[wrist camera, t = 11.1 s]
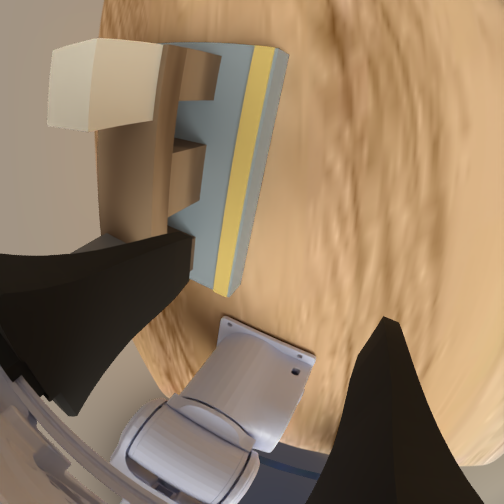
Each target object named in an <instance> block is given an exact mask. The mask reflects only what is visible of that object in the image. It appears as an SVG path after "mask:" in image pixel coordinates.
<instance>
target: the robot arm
mask: <svg viewBox="0 0 504 504" xmlns="http://www.w3.org/2000/svg"><path fill="white" fill-rule="evenodd" d="M192 238H193V237H191V236H189V235H187V234H184V233H182V232H180V231H179V232H172V233H167V234H163V235H159V236H154V237H150V238H146V239H142V240H138V241H134V242H130V243H126V244H122V245H117V246H113V247H108V248H104V249H99V250H94V251H88V252H81V253H73V254H62V255H49V256H22V255H9V254H0V504H107V503H106V502H105V501H103V500H102V499H101V498H99V497H98V496H97V495H95V494H94V493H93V492H91V491H90V490H89V489H87V488H86V487H85V486H84V485H83V484H82V483H80V482H79V481H78V480H77V479H75V478H74V477H73V476H72V475H71V474H70V473H69V472H68V471H66V469H68V467H69V466H70V465H71V462H70V461H69V460H68V459H67V458H66V457H65V456H64V455H63V454H62V453H61V452H60V450H59V449H58V448H57V447H55V446H54V444H52V443H51V442H50V441H49V440H48V439H47V438H46V437H45V436H44V435H43V434H42V433H41V432H40V431H39V430H38V429H37V427H36V424H37V421H38V422H39V423H40V424H41V425H42V426H43V428H44V429H45V430H46V431H47V432H48V433H49V434H50V435H51V436H52V437H53V438H54V439H55V440H56V441H57V442H58V444H59V445H60V446H61V447H62V448H63V449H65V450H66V451H67V452H68V453H69V454H70V455H71V456H72V457H73V458H74V459H75V460H76V461H77V462H78V463H80V464H81V465H82V466H83V467H84V468H85V469H86V470H87V471H89V472H90V473H91V474H92V475H93V476H95V477H96V478H97V479H98V480H99V481H101V482H102V483H103V484H104V485H106V486H107V487H108V488H110V489H111V490H112V491H114V492H115V493H116V494H118V495H119V496H120V497H122V501H121V502H120V503H119V504H237V503H238V502H239V501H240V500H241V498H242V497H243V496H244V494H245V493H246V491H247V490H248V488H249V487H250V485H251V484H252V482H253V480H254V478H255V476H256V474H257V471H258V468H259V465H260V461H259V458H258V453H257V452H255V451H253V450H251V449H252V448H254V449H258V450H261V451H264V452H268V453H270V452H271V451H272V450H273V449H274V447H275V446H276V444H277V443H278V441H279V440H280V438H281V436H282V435H283V433H284V431H285V429H286V427H287V425H288V423H289V421H290V419H291V417H292V415H293V413H294V411H295V408H296V406H297V404H298V403H299V401H300V399H301V397H302V395H303V393H304V390H305V389H304V387H305V385H306V382H307V380H308V377H309V375H310V372H311V369H312V367H313V365H314V363H315V361H316V357H315V356H314V355H312V354H310V353H308V352H305V351H303V350H300V349H298V348H296V347H293V346H291V345H289V344H286V343H284V342H282V341H280V340H277V339H275V338H273V337H271V336H268V335H266V334H264V333H262V332H260V331H257V330H255V329H253V328H251V327H249V326H247V325H244V324H242V323H240V322H238V321H236V320H234V319H232V318H230V317H228V316H223V317H222V318H221V321H220V327H219V334H218V340H217V346H216V349H215V350H214V351H213V353H212V354H211V355H210V357H209V358H208V359H207V360H206V362H205V363H204V364H203V366H202V367H201V368H200V369H199V371H198V372H197V373H196V374H195V376H194V377H193V378H192V380H191V381H190V382H189V383H188V385H187V386H186V387H185V388H184V390H183V391H182V392H181V393H180V395H178V394H176V393H174V394H173V395H172V397H171V398H170V399H169V400H168V401H167V400H166V399H164V398H162V397H161V398H157V399H152V400H150V401H148V402H147V403H145V404H144V405H143V406H142V407H141V408H140V409H139V410H138V411H137V412H136V413H135V414H134V416H133V417H132V418H131V420H130V421H129V422H128V424H127V425H126V427H125V429H124V430H123V432H122V434H121V436H120V439H119V443H118V445H117V447H116V449H115V451H114V452H113V454H112V455H111V461H110V462H109V463H108V462H107V461H106V460H104V459H103V458H102V457H101V456H100V455H98V454H97V453H96V452H95V451H93V449H91V448H90V447H89V446H88V445H87V444H86V443H85V442H83V441H82V440H81V439H80V438H79V437H78V436H77V435H76V434H75V433H74V432H73V431H72V430H70V429H69V428H68V427H67V426H66V425H65V424H64V423H63V422H62V421H61V420H60V419H59V418H58V417H57V416H56V415H55V414H54V413H53V412H52V410H50V408H49V407H48V406H47V405H46V404H45V403H44V402H43V400H42V399H41V398H40V397H41V396H42V395H44V396H45V397H46V398H47V400H48V401H52V400H53V401H54V402H55V403H56V404H57V405H58V406H59V407H60V408H61V409H62V410H63V411H64V412H65V413H66V414H67V415H68V416H77V415H78V413H79V412H80V410H81V408H82V406H83V404H84V403H85V401H86V400H87V398H88V396H89V395H90V393H91V391H92V390H93V389H94V387H95V386H96V384H97V383H98V381H99V380H100V378H101V377H102V375H103V374H104V373H105V371H106V370H107V369H108V367H109V366H110V364H111V363H112V362H113V361H114V359H115V358H116V357H117V356H118V354H119V353H120V352H121V351H122V350H123V349H124V347H125V346H126V345H127V344H128V343H129V342H130V340H131V339H132V338H133V337H134V336H135V335H136V334H137V333H138V332H140V331H141V330H142V329H143V328H144V327H145V326H146V325H147V324H148V323H149V322H150V321H151V320H152V319H154V318H155V317H156V316H157V315H158V314H159V313H160V312H161V311H162V310H163V309H164V308H165V307H166V306H168V305H169V304H170V303H171V302H172V301H173V300H174V299H175V298H176V296H177V295H178V294H179V293H180V292H181V290H182V289H183V288H184V287H185V285H186V284H187V283H188V281H189V276H190V262H191V249H192ZM299 354H300V355H299ZM305 504H484V503H483V501H482V500H481V498H480V497H479V495H478V494H477V493H476V491H475V490H474V489H473V487H472V486H471V484H470V483H469V482H468V480H467V479H466V477H465V475H464V474H463V472H462V471H461V469H460V467H459V466H458V464H457V462H456V461H455V459H454V457H453V455H452V454H451V452H450V450H449V448H448V446H447V444H446V442H445V440H444V438H443V436H442V434H441V432H440V430H439V428H438V426H437V424H436V421H435V419H434V417H433V415H432V412H431V410H430V408H429V405H428V403H427V400H426V398H425V395H424V392H423V390H422V387H421V385H420V382H419V379H418V376H417V374H416V371H415V368H414V365H413V362H412V359H411V356H410V353H409V350H408V347H407V344H406V341H405V338H404V335H403V332H402V329H401V327H400V324H399V322H396V321H394V320H391V319H389V318H386V317H384V316H383V318H382V319H381V321H380V322H379V324H378V326H377V327H376V329H375V330H374V332H373V333H372V335H371V337H370V338H369V340H368V341H367V343H366V344H365V346H364V347H363V349H362V350H361V351H360V353H359V354H358V357H357V360H356V363H355V366H354V369H353V372H352V375H351V378H350V382H349V387H348V391H347V396H346V400H345V404H344V409H343V413H342V417H341V421H340V425H339V429H338V433H337V436H336V439H335V442H334V445H333V448H332V450H331V452H330V455H329V457H328V460H327V462H326V464H325V467H324V469H323V471H322V473H321V475H320V477H319V479H318V481H317V483H316V485H315V487H314V489H313V491H312V493H311V495H310V496H309V498H308V500H307V502H306V503H305Z"/></svg>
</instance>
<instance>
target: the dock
mask: <svg viewBox="0 0 504 504" xmlns="http://www.w3.org/2000/svg"><path fill="white" fill-rule="evenodd" d="M156 44H161V45H165V44H170V45H175V46H180V47H185V48H190V49H195V50H199V51H203V52H208V53H212V54H216V55H220V56H222V58H221V63H220V68H219V73H218V79H217V84H216V90H215V96H214V101H213V100H197V101H179V103H178V110H177V118H176V126H175V134H174V138H179V139H183V140H188V141H192V142H196V143H201V144H205V145H207V146H206V153H205V161H204V168H203V176H202V184H201V192H200V200H199V201H198V202H196V203H194V204H192V205H190V206H188V207H186V208H184V209H183V210H181V211H179V212H177V213H175V214H173V215H172V216H170V217H168V224H167V225H168V226H171V227H173V228H175V229H178V230H180V231H182V232H185V233H187V234H189V235H192V236H194V237H196V239H195V250H194V262H193V270H191V271H190V276H189V278H190V279H192V280H194V281H196V282H198V283H200V284H202V285H204V286H206V287H208V288H210V289H212V290H213V292H216V293H218V294H220V295H222V296H224V297H230V296H231V295H232V294H233V292H234V291H235V290H236V289H237V288H238V287H239V285H240V284H241V279H242V274H243V269H244V265H245V260H246V255H247V250H248V246H249V241H250V236H251V231H252V226H253V222H254V217H255V212H256V207H257V203H258V198H259V193H260V189H261V184H262V179H263V174H264V170H265V165H266V160H267V156H268V151H269V146H270V142H271V137H272V132H273V128H274V123H275V118H276V114H277V109H278V104H279V100H280V95H281V91H282V86H283V81H284V77H285V72H286V68H287V63H288V58H289V54H287V53H285V52H284V51H282V50H280V49H279V48H274V47H267V46H258V45H255V46H254V45H244V44H230V43H207V42H179V43H156Z"/></svg>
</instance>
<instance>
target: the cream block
mask: <svg viewBox="0 0 504 504" xmlns="http://www.w3.org/2000/svg"><path fill="white" fill-rule="evenodd" d="M162 49H163V45H161V44H155V43H148V42H140V41H131V40H121V39H108V38H95V39H90V40H87V41H83V42H79V43H75V44H71V45H68V46H65V47H61V48H58V49H55V50H53V53H52V60H51V69H50V80H49V92H48V113H47V126H52V127H58V128H65V129H71V130H77V131H83V132H91V131H96V130H101V129H106V128H111V127H116V126H122V125H127V124H133V123H140V122H146V121H153V112H154V103H155V95H156V87H157V80H158V73H159V67H160V61H161V55H162Z"/></svg>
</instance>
